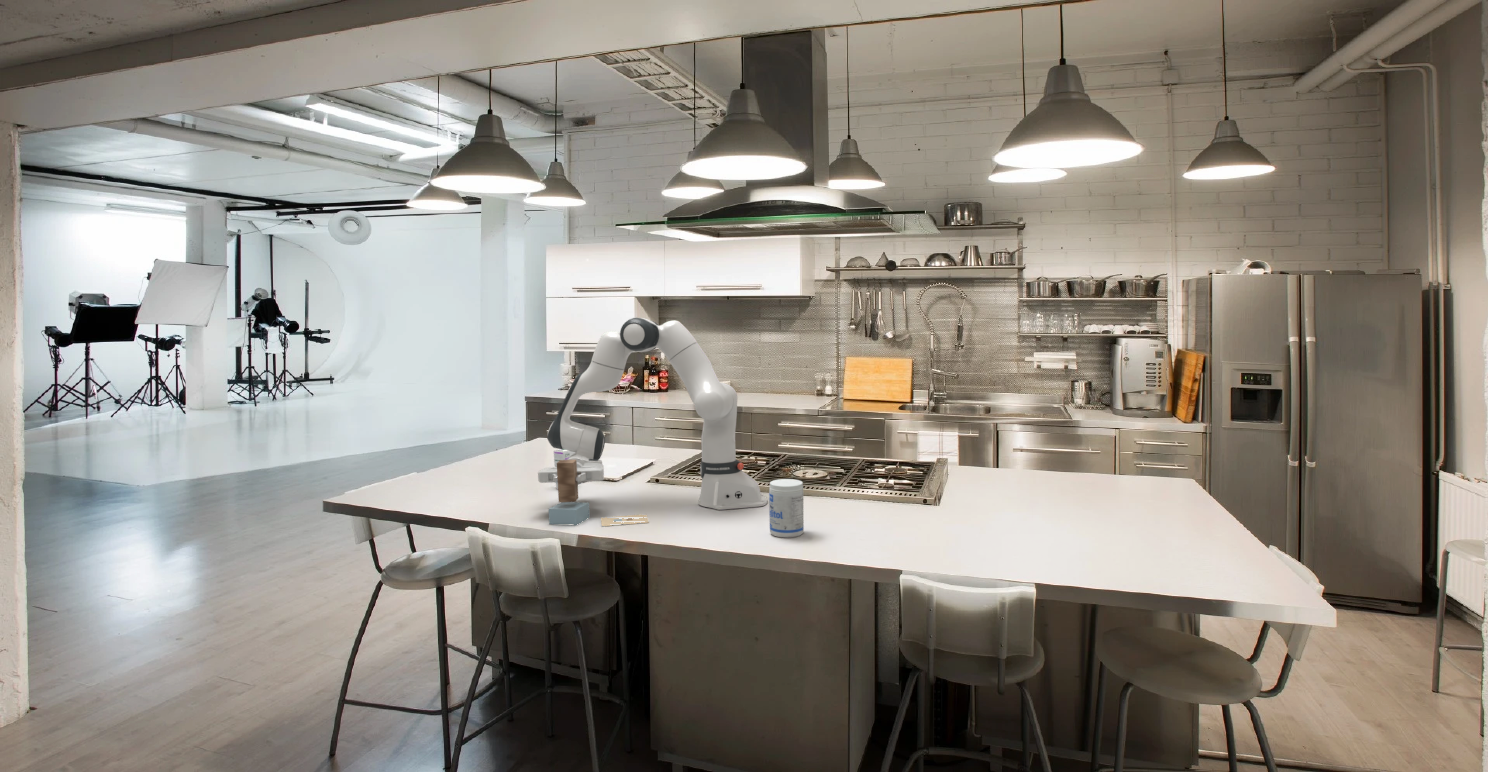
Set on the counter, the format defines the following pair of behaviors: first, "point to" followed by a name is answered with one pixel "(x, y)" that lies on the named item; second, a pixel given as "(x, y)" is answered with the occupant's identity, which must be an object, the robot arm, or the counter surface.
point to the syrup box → (561, 457)
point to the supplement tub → (786, 508)
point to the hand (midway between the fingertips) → (567, 479)
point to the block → (567, 480)
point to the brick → (569, 513)
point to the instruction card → (609, 521)
